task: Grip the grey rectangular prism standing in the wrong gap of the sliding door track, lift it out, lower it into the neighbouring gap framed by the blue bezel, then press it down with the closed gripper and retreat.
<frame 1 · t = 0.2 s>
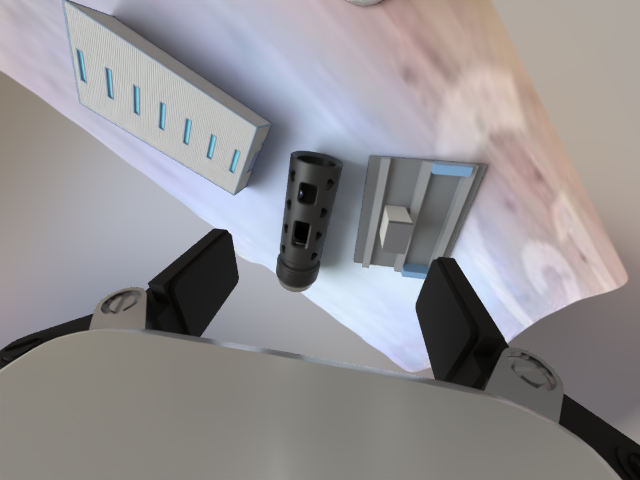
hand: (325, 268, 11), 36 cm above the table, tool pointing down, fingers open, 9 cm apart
warehouse: (189, 113, 43), on the table
muzzle brake: (310, 216, 50), on the table
grey rectangular prism: (391, 219, 46), point 1 cm above the table, touching sliding door track
sliding door track: (409, 219, 47), on the table
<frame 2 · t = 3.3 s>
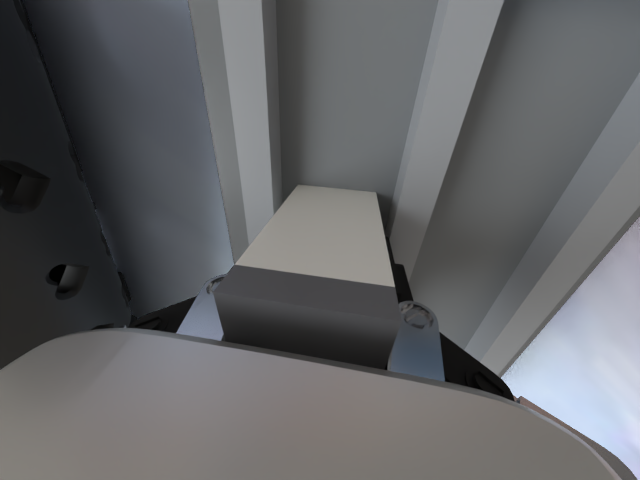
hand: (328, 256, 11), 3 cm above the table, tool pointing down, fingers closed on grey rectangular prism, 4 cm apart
muzzle brake: (103, 224, 17), on the table
grey rectangular prism: (331, 238, 13), point 1 cm above the table, touching sliding door track, gripper
sliding door track: (393, 237, 14), on the table
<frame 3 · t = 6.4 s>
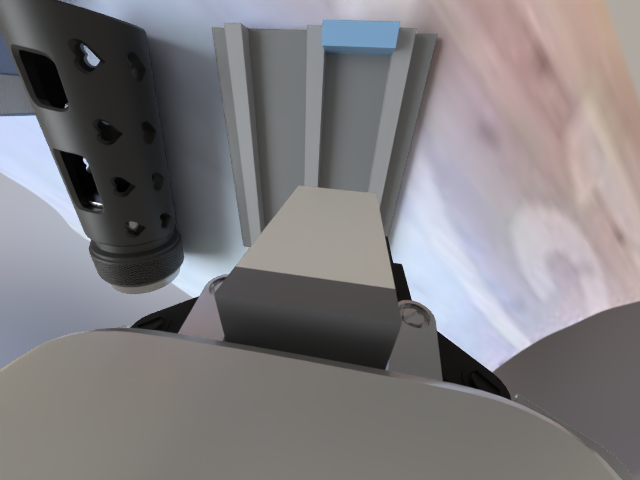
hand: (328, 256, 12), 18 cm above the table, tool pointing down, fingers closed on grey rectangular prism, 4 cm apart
muzzle brake: (160, 168, 30), on the table
grey rectangular prism: (331, 239, 13), point 16 cm above the table, touching gripper
sliding door track: (315, 167, 27), on the table
when the fingers open (4 cm above the table, at t = 9.0 s): grey rectangular prism drops 1 cm, resting on sliding door track.
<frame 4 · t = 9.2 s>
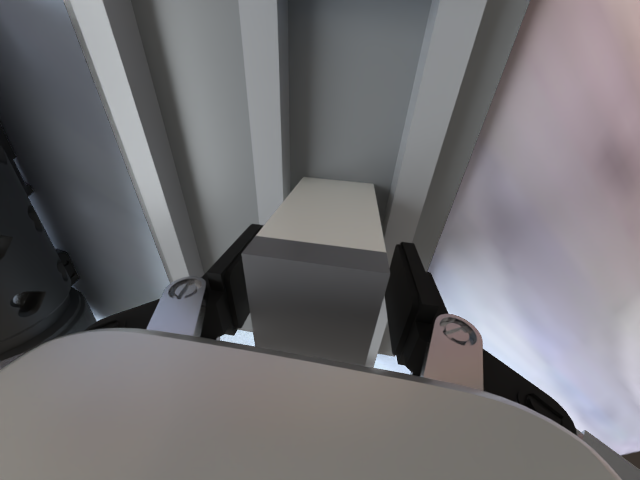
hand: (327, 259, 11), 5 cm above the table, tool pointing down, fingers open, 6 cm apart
muzzle brake: (44, 206, 19), on the table
grey rectangular prism: (333, 227, 14), point 1 cm above the table, touching sliding door track
sliding door track: (283, 214, 16), on the table
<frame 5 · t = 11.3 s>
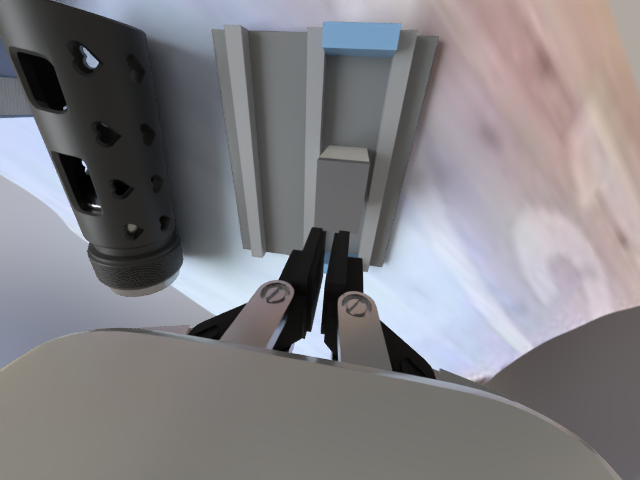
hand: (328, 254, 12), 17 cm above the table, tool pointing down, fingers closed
muzzle brake: (160, 170, 30), on the table
grey rectangular prism: (344, 174, 25), point 1 cm above the table, touching sliding door track
sliding door track: (315, 170, 27), on the table
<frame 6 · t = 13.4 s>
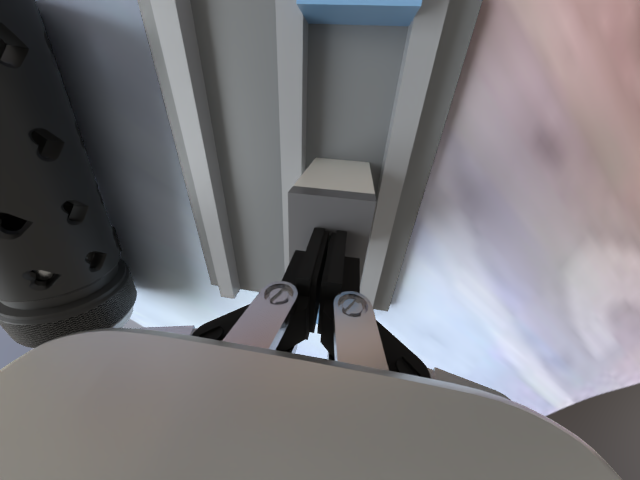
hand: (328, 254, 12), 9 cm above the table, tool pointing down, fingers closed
muzzle brake: (99, 187, 23), on the table
grey rectangular prism: (338, 197, 18), point 1 cm above the table, touching sliding door track, gripper
sliding door track: (298, 189, 20), on the table
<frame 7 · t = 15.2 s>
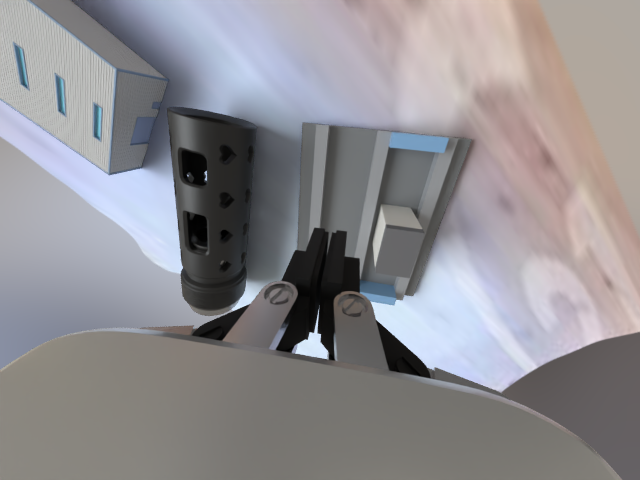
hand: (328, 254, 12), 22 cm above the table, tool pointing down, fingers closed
warehouse: (55, 50, 30), on the table
muzzle brake: (235, 211, 37), on the table
grey rectangular prism: (390, 225, 32), point 1 cm above the table, touching sliding door track
sliding door track: (365, 219, 34), on the table
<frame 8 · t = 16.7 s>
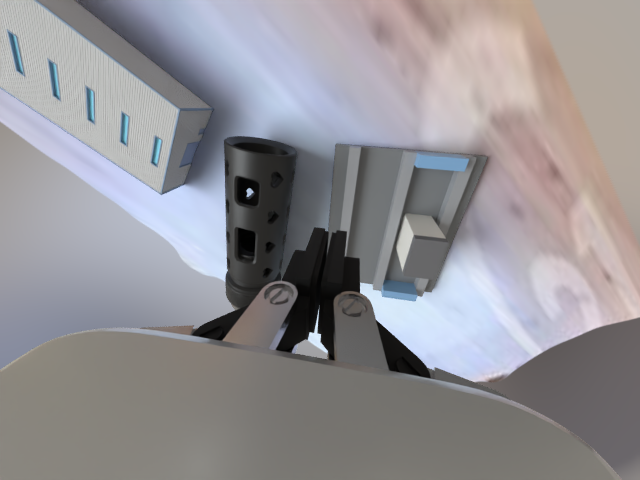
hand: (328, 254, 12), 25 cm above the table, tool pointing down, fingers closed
warehouse: (108, 83, 33), on the table
muzzle brake: (269, 221, 41), on the table
grey rectangular prism: (412, 231, 36), point 1 cm above the table, touching sliding door track
sliding door track: (389, 226, 37), on the table
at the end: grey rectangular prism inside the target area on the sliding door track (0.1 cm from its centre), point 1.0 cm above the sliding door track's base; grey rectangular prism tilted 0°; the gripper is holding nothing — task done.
